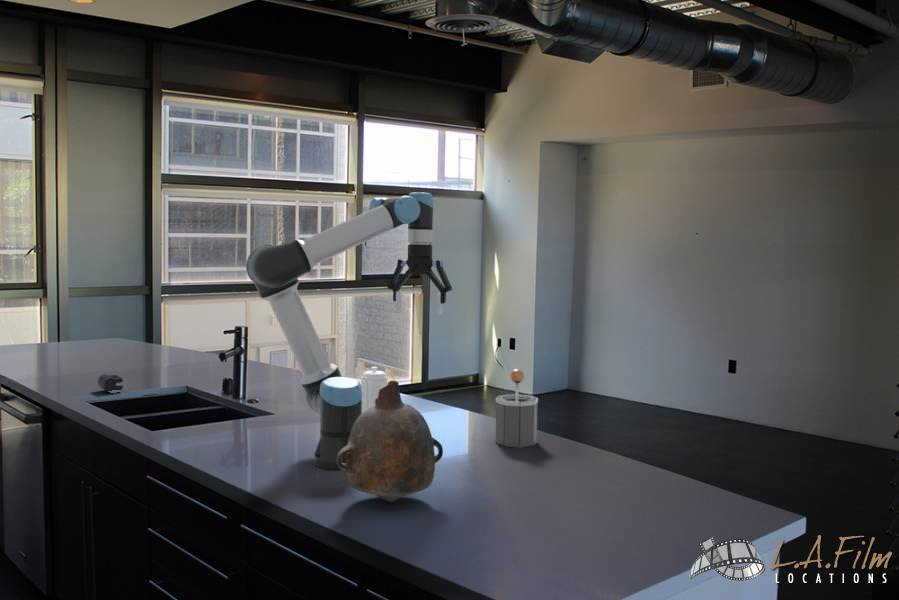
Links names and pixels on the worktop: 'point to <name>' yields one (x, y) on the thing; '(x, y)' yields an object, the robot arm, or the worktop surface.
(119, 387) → the end cap
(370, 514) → the worktop surface
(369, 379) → the coffeepot
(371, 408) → the jug
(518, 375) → the copper ball knob
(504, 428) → the grey octagonal tube
